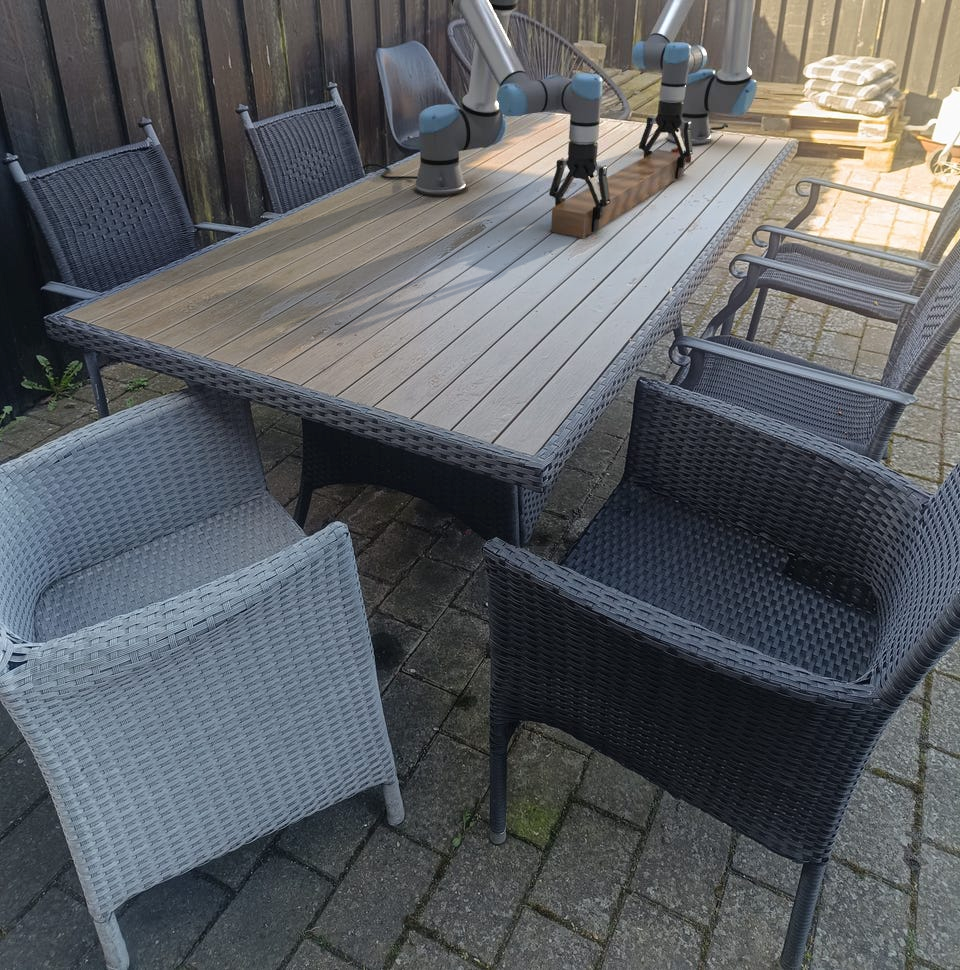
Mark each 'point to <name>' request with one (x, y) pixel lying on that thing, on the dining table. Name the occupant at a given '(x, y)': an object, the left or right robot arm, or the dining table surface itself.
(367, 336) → the dining table surface
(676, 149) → the dark red lumpy piece
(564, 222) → the wooden beam
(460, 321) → the dining table surface
